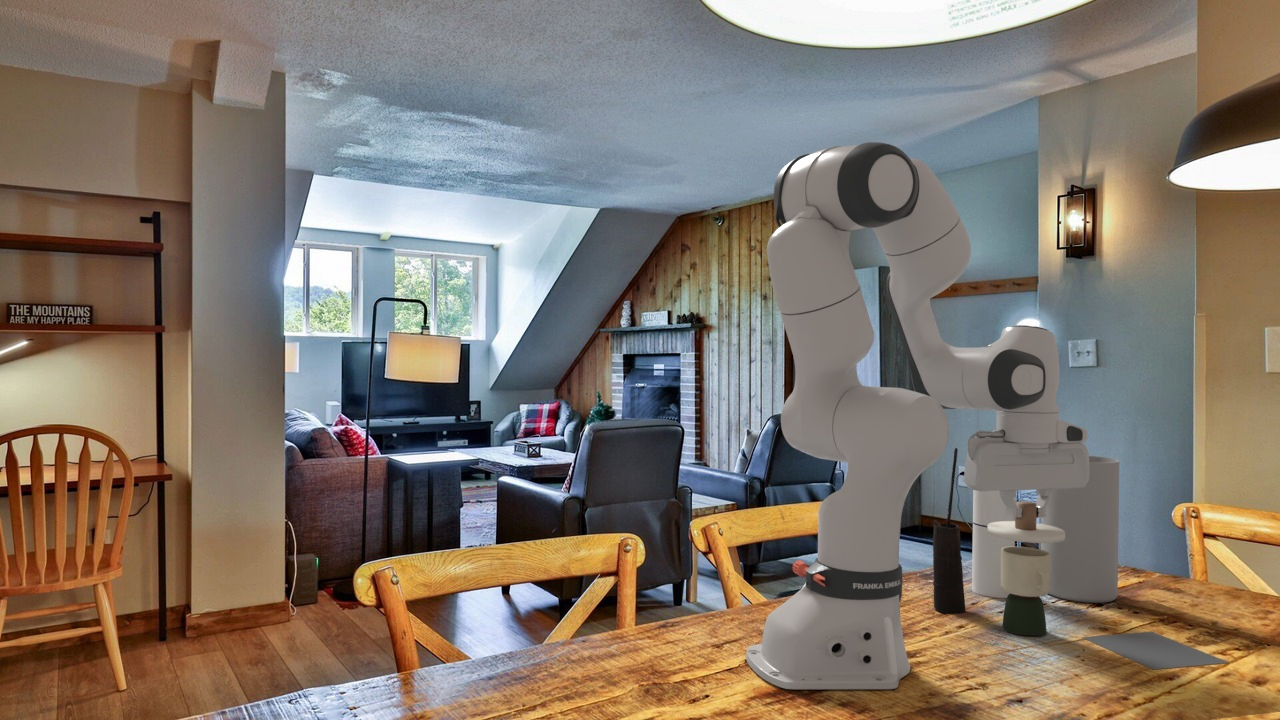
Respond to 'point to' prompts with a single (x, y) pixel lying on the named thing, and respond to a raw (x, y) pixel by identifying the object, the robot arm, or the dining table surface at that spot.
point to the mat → (1154, 650)
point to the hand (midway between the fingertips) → (1026, 517)
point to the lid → (1026, 527)
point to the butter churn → (948, 562)
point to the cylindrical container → (988, 544)
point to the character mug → (1025, 589)
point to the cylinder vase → (1086, 536)
